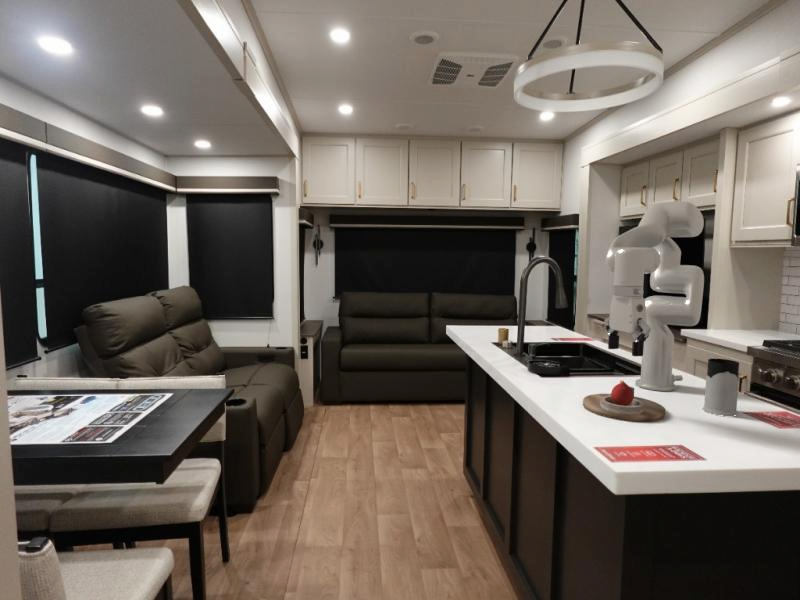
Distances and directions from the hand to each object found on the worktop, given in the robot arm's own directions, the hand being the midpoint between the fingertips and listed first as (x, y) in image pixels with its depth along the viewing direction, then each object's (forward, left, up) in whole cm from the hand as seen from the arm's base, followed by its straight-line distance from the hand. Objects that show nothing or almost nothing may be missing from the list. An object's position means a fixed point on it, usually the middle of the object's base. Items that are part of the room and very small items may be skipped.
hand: (625, 352), depth 137 cm
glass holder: (-31, +3, -18) cm, 36 cm away
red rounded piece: (0, 0, -16) cm, 16 cm away
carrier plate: (-3, -3, -18) cm, 18 cm away
